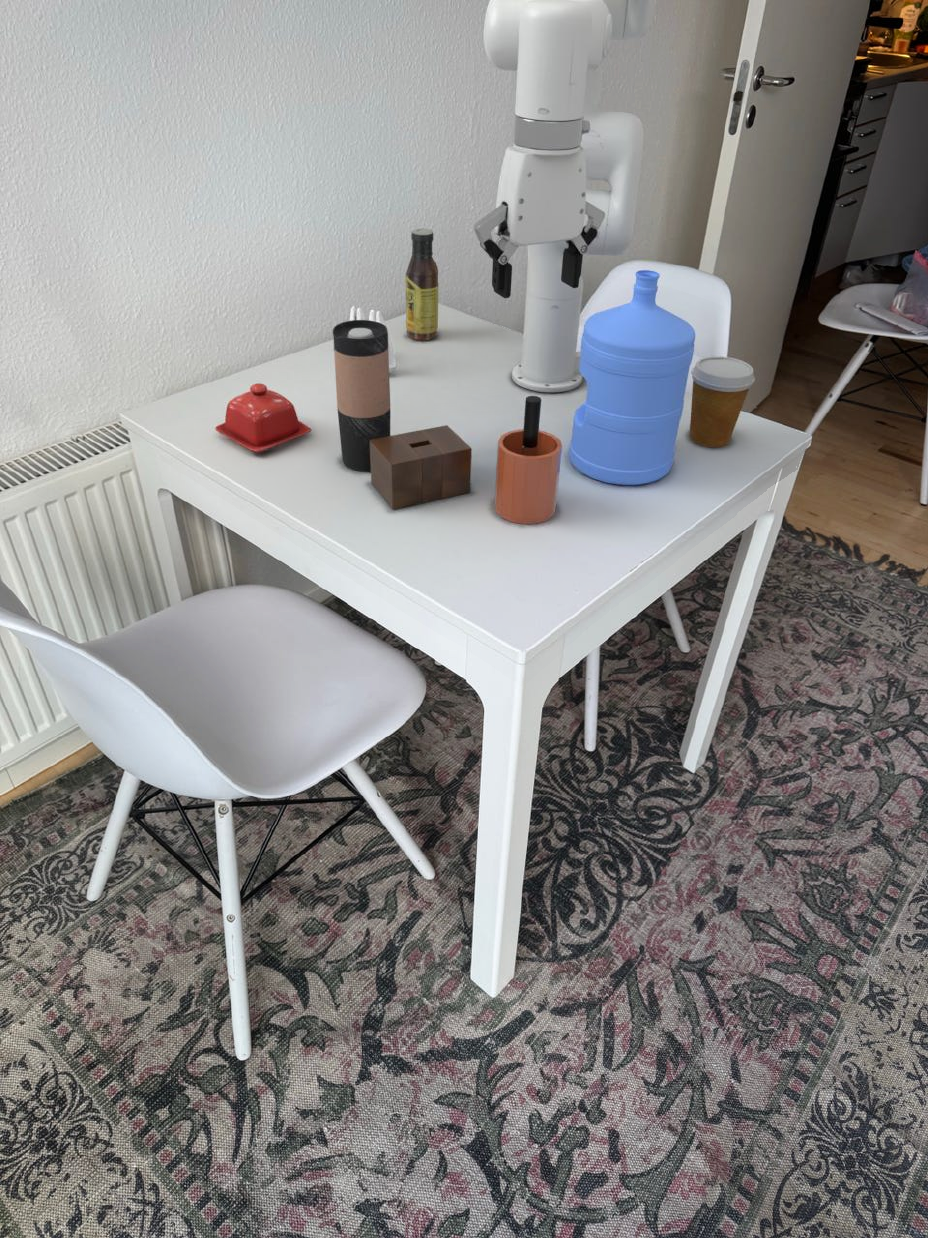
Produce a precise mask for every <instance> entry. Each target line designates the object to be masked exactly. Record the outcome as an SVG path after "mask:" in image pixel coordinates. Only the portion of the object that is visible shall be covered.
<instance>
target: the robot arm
mask: <svg viewBox="0 0 928 1238" xmlns="http://www.w3.org/2000/svg"><path fill="white" fill-rule="evenodd" d="M656 6H657V0H489V1H488V5H487V8H486V11H485V17H484V23H483V24H484V25H483V46H484V50H485V53H486V56H487V58H488V59H487V60H489V62H490V63H491V65H493V66H494V67H495V68H497V69H499V70H503V71H510V72H511V71H512V72H516V87H515V108H514V109H515V110H514V127H513V128H514V130H513V145H511V146H507V147H506V149H505V152H504V156H503V160H502V165H501V168H500V174H499V180H498V186H497V195H496V203H495V204H496V205H495V209H493V210H492V211H490V212H489V213H487V214H486V215H485V216H483V217H482V218H481V219H479V220H478V221H476V222H475V223H474V224H473V231H474V232H475V235H476V237H477V239H478V241H479V245H480V247H481V248H482V249H483V250H484V252H485V253H486V254H487V255H488V258H490V259H492V269H491V271H492V273H491V286H492V288H493V292H494V293H495V294H497V295H499V296H500V297H501V298H503V299H509V298H510V297H511V295H512V279H513V278H512V277H513V265H512V264H511V263H510V262H509V261H510V259H511V258H512V256H513V255H514V254H515V253H516V251H517V249H519V247H525V246H527V247H526V248H527V272H526V290H525V303H524V304H525V305H524V317H523V318H524V320H523V335H522V349H521V350H522V351H521V362H520V363H519V364H517V365H515V366H514V367H513V368H512V371H511V379H512V381H513V382H514V383H515V384H516V385H518V386H519V387H522V388H524V389H526V390H530V391H533V392H539V393H550V394H551V393H552V394H553V393H562V392H568V391H572V390H574V389H576V388H578V387H579V386H580V385H581V384H582V382H583V376H582V375H581V373H580V370H579V367H580V358H581V353H580V351H577V350H578V349H577V348H578V347H577V346H578V340H579V331H580V330H579V328H580V320H581V310H582V299H583V291H584V278H583V274H582V268H583V257H584V255H588V256H589V255H590V256H605V257H607V256H608V257H617V256H621V255H623V254H625V253H626V252H627V251H628V250H629V248H630V246H631V244H632V241H633V236H634V232H635V225H636V217H637V209H638V200H639V193H640V186H641V185H640V184H641V177H642V169H643V161H644V149H645V132H644V131H645V130H644V126H643V123H642V120H641V119H640V118H639V117H638V116H637V115H635V114H633V113H630V112H625V111H608V110H602V109H601V106H600V105H601V104H600V103H601V95H602V94H601V93H602V85H603V70H602V67H601V65H602V63H603V62H604V59H605V58H607V57H608V55H609V52H610V50H611V45H612V41H636V40H639V39H641V38H643V37H644V36H645V35H646V34H647V33H648V31H649V30H650V28H651V25H652V23H653V19H654V16H655V12H656ZM587 181H602V182H606V183H608V184H609V186H610V190H603V189H601V190H599V189H588V188H587ZM493 229H494V232H495V234H496V235H497V236H498V238H497V239H496V240H495V241H494V240H493V237H492V231H493Z"/></svg>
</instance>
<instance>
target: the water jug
mask: <svg viewBox="0 0 928 1238" xmlns="http://www.w3.org/2000/svg"><path fill="white" fill-rule="evenodd" d="M660 277H661V274H660V273H659V272H658V271H655V270H651V269H649V270H648V269H642V270H640V269H639V270H637V271H636V272H635V283H634V285H633V294H632V298H631V301H630V302H628V303H625V304H621V305H618V306H615V307H611V308H608V309H604V310H602V311H597V312H596V313H594V314H592V315H591V316H589V317H588V318H587V319H586V320H585V322H584V325H583V330H582V331H583V332H582V335H581V339H580V350H579V352H580V353H581V358H580V367H579V370H580V373H581V375H582V378H584V379H585V381H586V385H587V391H586V399H585V401H584V402H583V403H582V404H581V405H579V406H578V407H577V409H576V410H575V412H574V414H573V422H572V431H571V439H570V441H569V448H568V456H569V460H570V463H572V465H573V466H574V468H576V469H577V470H578V471H579V472H580V473H581V474H583V475H585V476H587V477H588V478H592V479H593V480H596V481H599V482H603V483H607V484H611V485H621V486H636V485H639V486H640V485H645V484H649V483H653V482H655V481H658V480H661V479H662V478H663V477H665V476H666V475H668V474H669V472H670V471H671V469H672V467H673V463H674V459H675V449H676V442H677V437H678V433H679V432H678V431H679V427H680V421H681V419H682V415H683V411H684V404H685V394H686V389H687V383H688V379H689V372H690V368H691V365H692V361H693V358H694V352H695V341H696V331H695V328H694V327H693V326H692V325H691V324H690V323H689V321H687V320H685V319H683V318H681V317H680V316H678V315H675V314H674V313H672V312H670V311H668V310H667V309H664V308H663V307H661V306H660V305H658V304H657V303H656V299H657V293H658V289H659V285H658V282H659V278H660Z"/></svg>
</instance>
